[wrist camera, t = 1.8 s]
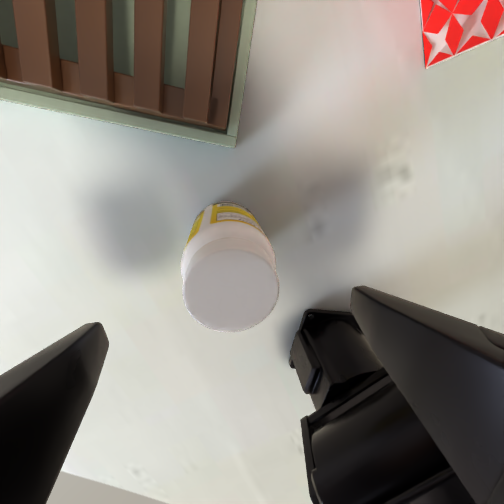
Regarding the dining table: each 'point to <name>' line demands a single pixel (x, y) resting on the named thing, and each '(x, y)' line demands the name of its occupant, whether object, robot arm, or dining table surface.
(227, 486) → the dining table surface
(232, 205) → the supplement bottle
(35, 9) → the drying rack
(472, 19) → the red and white cube
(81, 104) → the drip tray
